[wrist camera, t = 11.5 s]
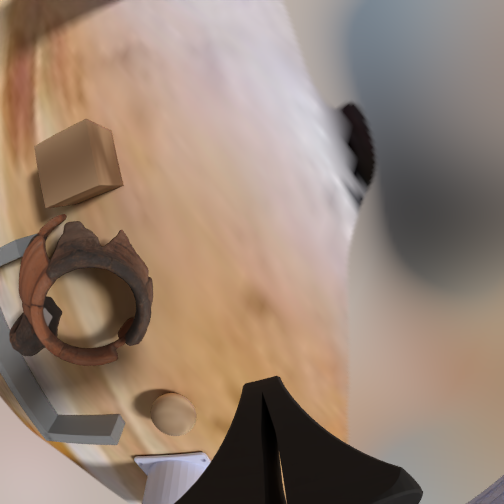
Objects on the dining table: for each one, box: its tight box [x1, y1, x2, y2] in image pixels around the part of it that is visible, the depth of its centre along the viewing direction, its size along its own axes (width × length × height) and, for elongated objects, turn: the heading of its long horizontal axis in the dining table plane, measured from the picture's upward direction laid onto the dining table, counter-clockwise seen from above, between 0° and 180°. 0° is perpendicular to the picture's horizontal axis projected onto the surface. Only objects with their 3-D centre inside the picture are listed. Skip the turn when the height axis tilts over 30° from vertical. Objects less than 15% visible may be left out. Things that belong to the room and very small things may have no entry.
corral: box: [0, 234, 125, 445], centre depth 18 cm, size 18×9×3 cm, turn 14°
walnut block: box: [34, 119, 124, 208], centre depth 15 cm, size 4×4×4 cm
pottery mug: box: [9, 214, 153, 366], centre depth 16 cm, size 12×9×8 cm
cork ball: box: [151, 393, 197, 436], centre depth 19 cm, size 4×4×4 cm
